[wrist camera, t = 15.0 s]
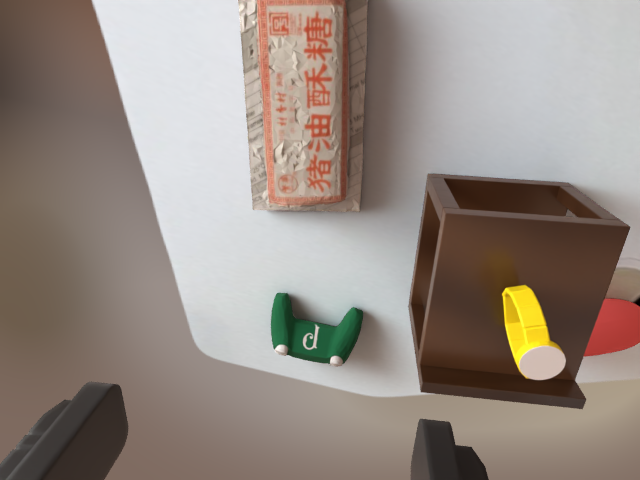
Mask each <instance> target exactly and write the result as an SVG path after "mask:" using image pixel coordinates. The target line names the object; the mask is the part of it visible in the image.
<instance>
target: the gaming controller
mask: <svg viewBox="0 0 640 480" xmlns="http://www.w3.org/2000/svg"><path fill="white" fill-rule="evenodd" d="M362 320H363V311H362V310H360V309H357V308H354V307H353V308H351V309H350V310H349V312H348V313H347V314H346V316H345V317H344V319H343V320H342V322H341V323H340V324H339V325H338V326H330V325H326V324H321V323H316V322H311V321H306V320H302V319H296V318H295V317H294V316H293V312H292V307H291V301H290V298H289V295H288V294H287V293H277V294H276V297H275V299H274V303H273V308H272V316H271V335H272V342H273V347H274V349H275V352H276V353H278V354H280V355H284V356H286V355H290V356H292V357H295V358H299V359H303V360H308V361H313V362H319V363H328V364H330V365H331V366H342V364H344V363H345V361H346V360H347V358H348V357H349V355H350V353H351V352H352V350H353V348H354V346H355V344H356V342H357V339H358V336H359V333H360V330H361V325H362Z"/></svg>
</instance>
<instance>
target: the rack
mask: <svg viewBox="0 0 640 480" xmlns="http://www.w3.org/2000/svg"><path fill="white" fill-rule="evenodd" d="M567 209H569V210H570V211H571V212H572V213H573V214H575V215H576V216H577V217H565V216H566V212H567ZM629 230H630V226H628V225H627V224H625V223H624V222H623V221H620V219H618V218H617V217H615V216H614V215H613V214H611V213H610V212H608V211H607V210H605V209H604V208H603V207H601V206H600V205H598V204H597V203H596V202H594V201H593V200H591V199H590V198H589V197H587V196H586V195H584V194H583V193H582V192H580V191H579V190H577V189H576V188H574V187H573V186H572V185H571V184H569V183H564V182H549V181H533V180H518V179H503V178H488V177H473V176H458V175H443V174H428V176H427V183H426V190H425V197H424V204H423V210H422V217H421V224H420V231H419V238H418V245H417V251H416V258H415V265H414V272H413V279H412V285H411V292H410V299H409V306H408V307H409V314H410V321H411V328H412V335H413V342H414V349H415V355H416V362H417V369H418V376H419V383H420V390H421V392H425V393H434V394H444V395H454V396H463V397H473V398H483V399H492V400H501V401H512V402H521V403H530V404H540V405H549V406H559V407H569V408H578V409H583V406H584V404H585V401H586V398H585V396H584V394H583V393H582V391H581V390H580V388H579V386H578V385H577V383H576V381H575V378H576V375H577V373H578V370H579V367H580V364H581V362H582V359H583V356H584V353H585V351H586V348H587V345H588V342H589V340H590V337H591V334H592V331H593V329H594V326H595V323H596V320H597V318H598V315H599V312H600V309H601V307H602V304H603V301H604V298H605V296H606V293H607V290H608V287H609V285H610V282H611V279H612V276H613V274H614V271H615V268H616V265H617V263H618V260H619V257H620V254H621V252H622V249H623V246H624V243H625V241H626V238H627V235H628V232H629ZM521 285H526V286H527V287H529V288H530V289H531V290H532V291H533V292H534V294H535V296H536V298H537V300H538V302H539V303H540V306H541V309H542V312H543V315H544V318H545V321H546V323H547V325H546V326H547V327H548V332H549V337H550V341H553V342H554V343H556V344H557V345H558V346H559V347H560V348H561V350H562V351H563V353H564V355H565V359H566V363H565V367H564V368H563V370H562V371H561V372H560V373H559V374H558V375H556V376H554V377H552V378H550V379H545V380H534V379H527V378H525V377H524V376H523V375H522V374H521V372H520V371H519V369H518V367H517V364H516V362H515V359H514V357H513V354H512V351H511V347H510V344H509V340H508V337H507V332H506V328H505V319H504V305H503V296H502V293H503V292H504V290H505V288H508V287H515V286H521Z"/></svg>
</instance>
